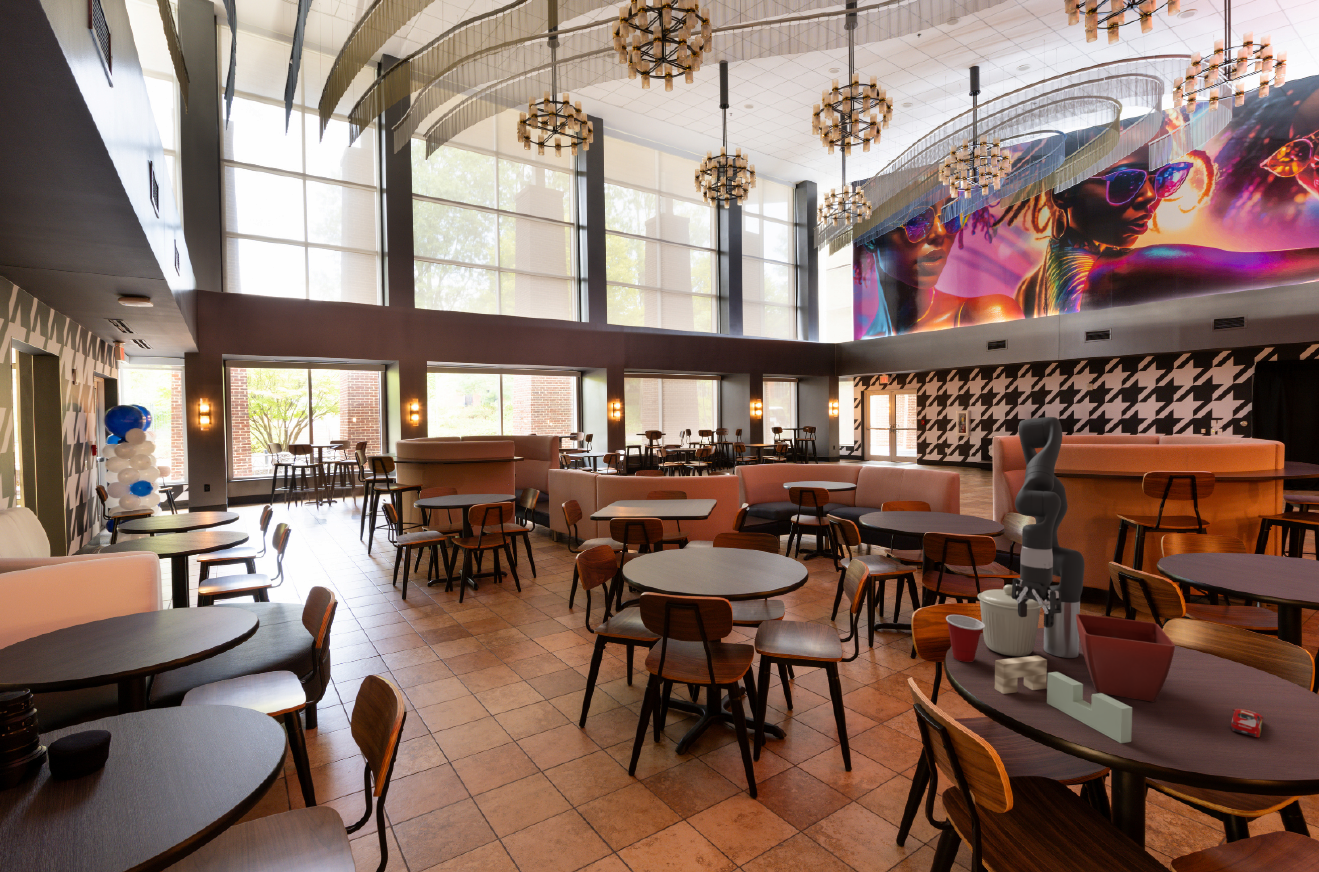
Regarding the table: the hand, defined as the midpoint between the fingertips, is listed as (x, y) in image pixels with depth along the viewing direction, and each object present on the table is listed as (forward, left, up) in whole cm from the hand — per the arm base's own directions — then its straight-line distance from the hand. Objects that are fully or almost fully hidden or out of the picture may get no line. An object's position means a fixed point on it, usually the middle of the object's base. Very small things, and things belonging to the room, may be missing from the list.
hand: (1035, 621), depth 169 cm
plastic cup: (-3, -21, -18) cm, 28 cm away
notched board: (+9, +17, -18) cm, 26 cm away
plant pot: (-19, +14, -19) cm, 30 cm away
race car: (-20, +39, -19) cm, 48 cm away
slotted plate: (+4, -1, -18) cm, 19 cm away
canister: (-21, -17, -18) cm, 33 cm away
